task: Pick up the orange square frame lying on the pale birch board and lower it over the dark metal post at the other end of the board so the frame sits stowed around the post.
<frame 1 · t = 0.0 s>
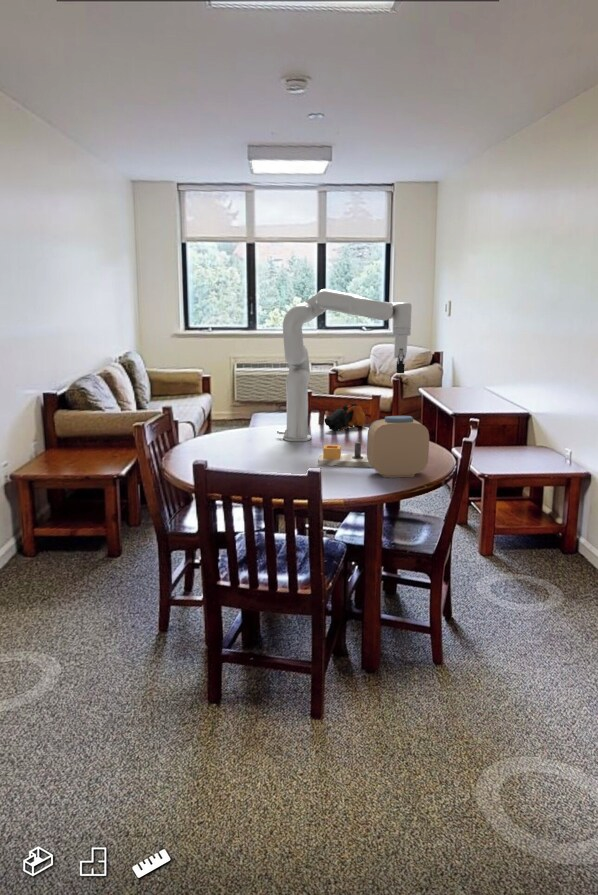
hand: (400, 371, 297), 31 cm above the table, tool pointing down, fingers open, 9 cm apart
tool: (344, 429, 332), on the table
alarm clock: (396, 474, 252), on the table
orange square frame: (332, 456, 270), point 2 cm above the table, touching peg board
peg board: (347, 462, 269), on the table
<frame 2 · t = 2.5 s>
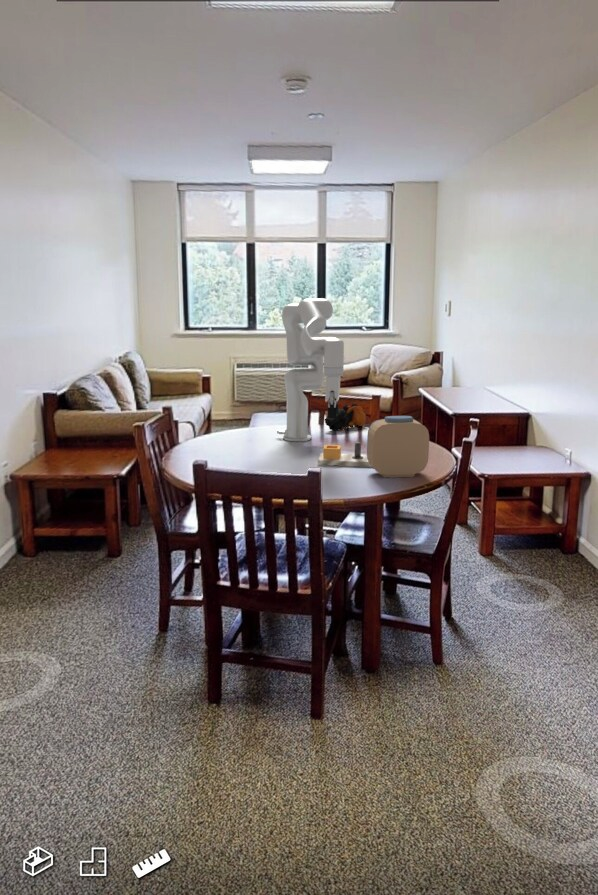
hand: (333, 415, 266), 18 cm above the table, tool pointing down, fingers open, 9 cm apart
nothing on the table moved.
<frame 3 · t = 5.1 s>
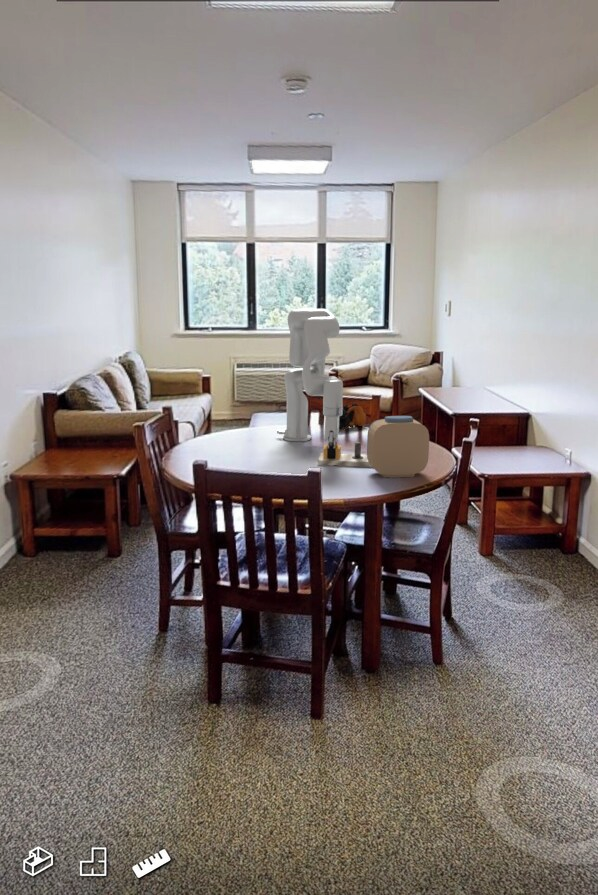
hand: (332, 455, 269), 2 cm above the table, tool pointing down, fingers closed on orange square frame, 6 cm apart
orange square frame: (332, 456, 270), point 2 cm above the table, touching gripper, peg board
everything else where it was.
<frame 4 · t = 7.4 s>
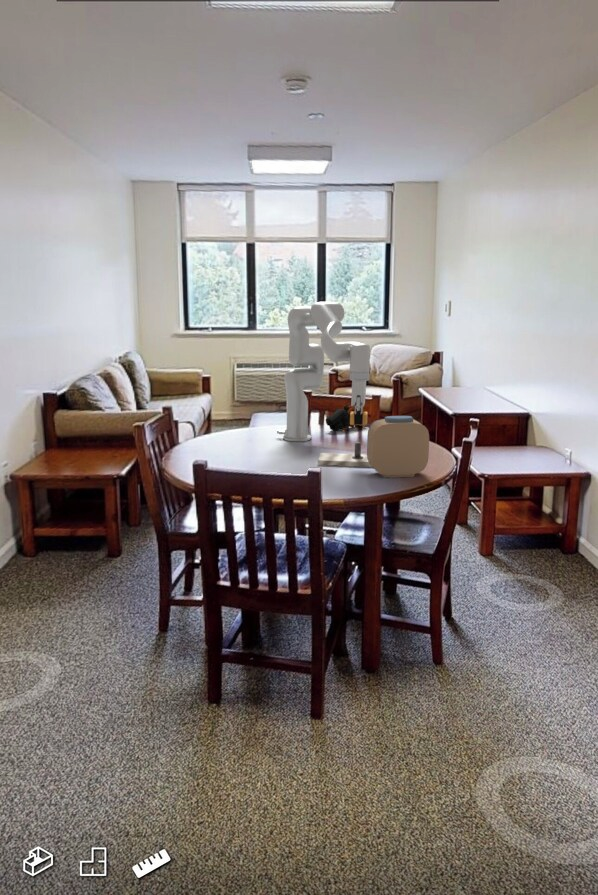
hand: (358, 422, 265), 16 cm above the table, tool pointing down, fingers closed on orange square frame, 6 cm apart
orange square frame: (358, 423, 265), point 16 cm above the table, touching gripper
everything else where it was.
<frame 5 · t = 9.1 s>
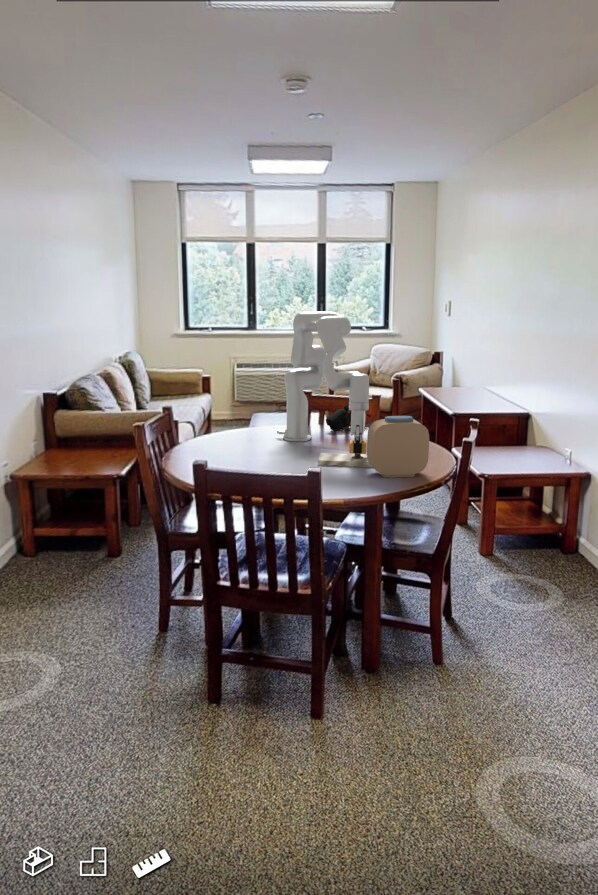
hand: (357, 450, 268), 5 cm above the table, tool pointing down, fingers closed on orange square frame, 6 cm apart
orange square frame: (357, 451, 268), point 4 cm above the table, touching gripper
everything else where it was.
when the fingers open (4 cm above the table, at t = 10.2 s): orange square frame drops 1 cm, resting on peg board.
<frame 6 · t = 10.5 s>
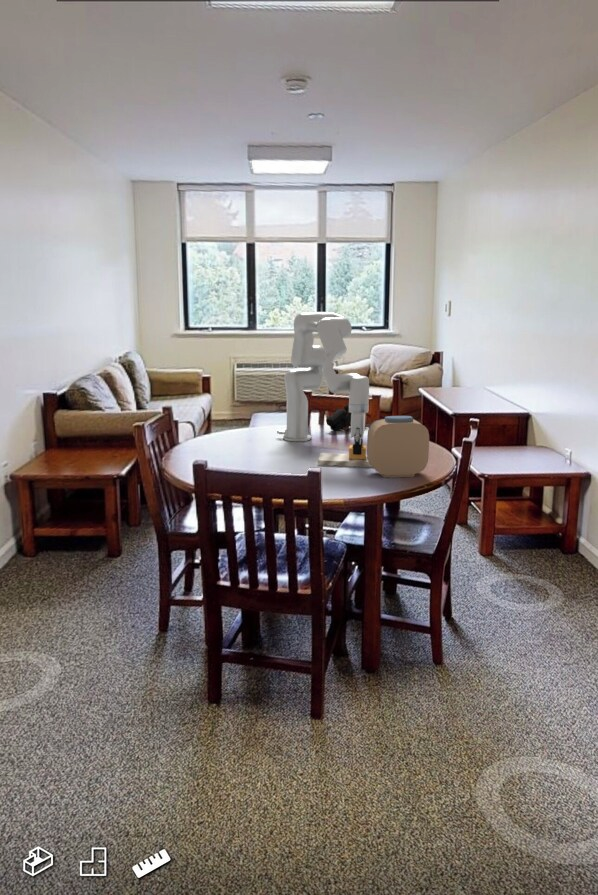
hand: (357, 451, 268), 5 cm above the table, tool pointing down, fingers open, 9 cm apart
orange square frame: (357, 456, 268), point 2 cm above the table, touching peg board
everything else where it was.
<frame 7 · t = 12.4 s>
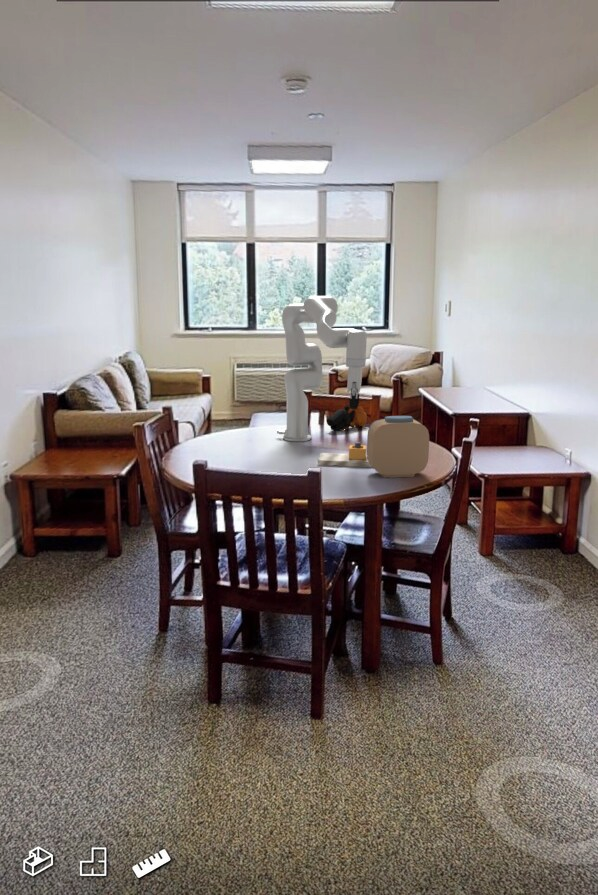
hand: (354, 406, 269), 21 cm above the table, tool pointing down, fingers open, 9 cm apart
nothing on the table moved.
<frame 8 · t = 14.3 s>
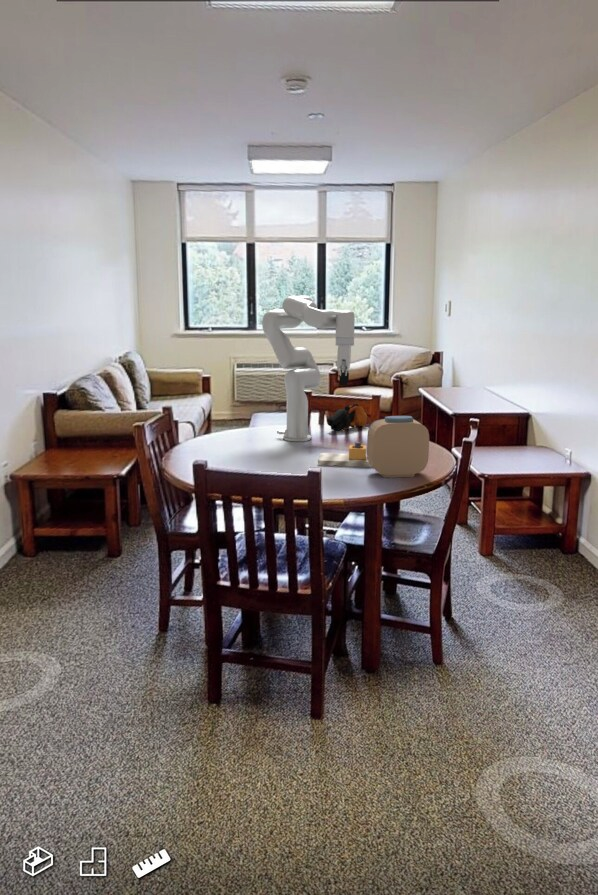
hand: (344, 383, 281), 28 cm above the table, tool pointing down, fingers open, 9 cm apart
nothing on the table moved.
at the end: orange square frame 0.1 cm from the target spot on the peg board, point 2.3 cm above the peg board's base; orange square frame tilted 0°; the gripper is holding nothing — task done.
